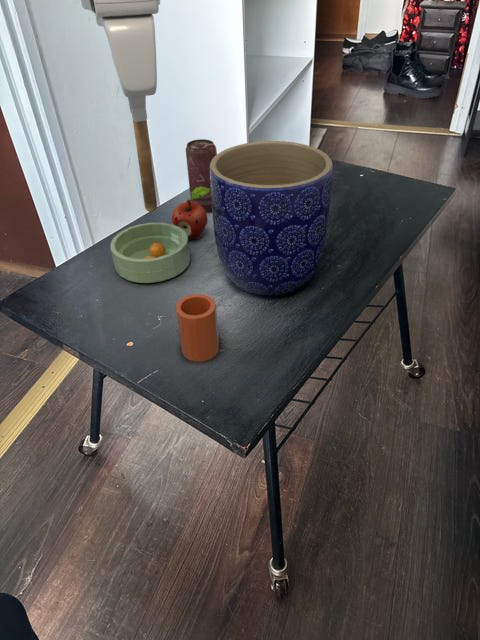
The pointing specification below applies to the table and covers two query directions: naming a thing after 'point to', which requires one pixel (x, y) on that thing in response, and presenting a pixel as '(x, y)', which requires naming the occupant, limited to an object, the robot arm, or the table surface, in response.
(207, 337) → the crock
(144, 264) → the bowl
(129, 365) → the table surface
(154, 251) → the bead
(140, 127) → the stick
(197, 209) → the apple
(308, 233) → the planter
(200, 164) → the can
